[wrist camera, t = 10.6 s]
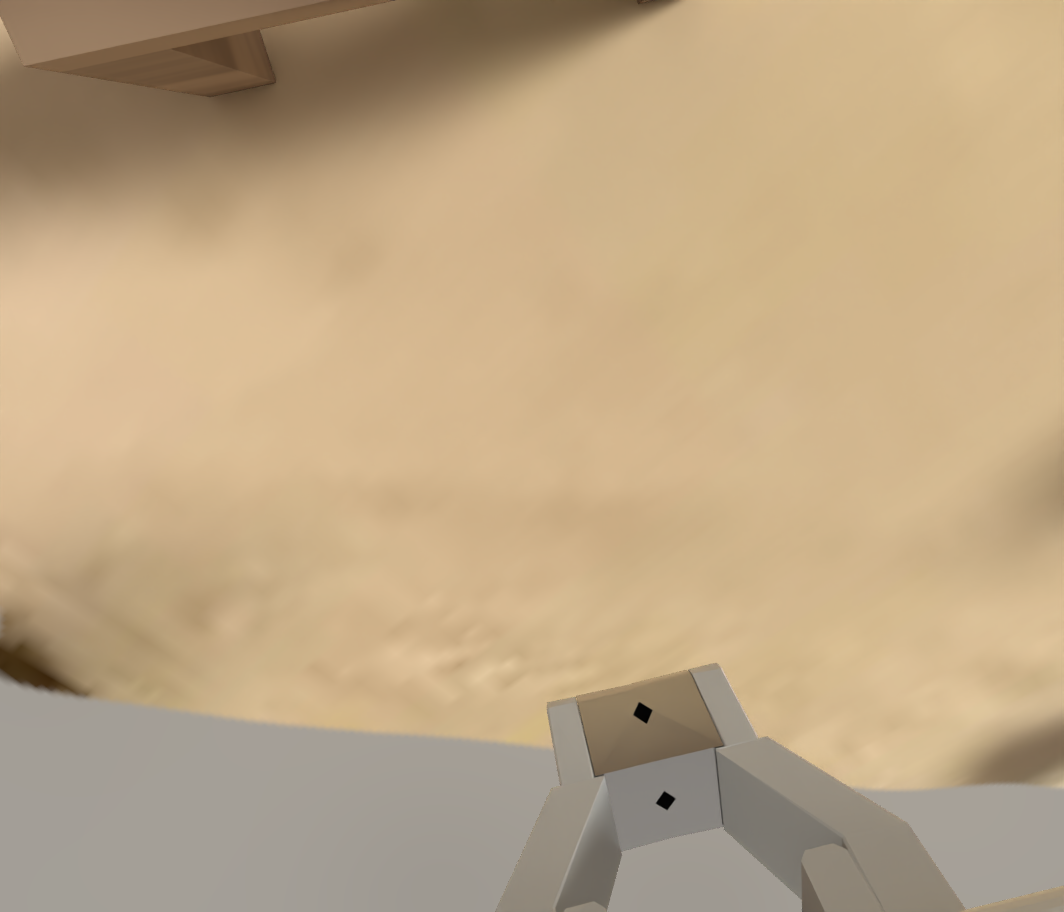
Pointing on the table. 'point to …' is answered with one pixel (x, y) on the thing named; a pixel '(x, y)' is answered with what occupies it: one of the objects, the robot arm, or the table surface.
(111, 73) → the bridge
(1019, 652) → the table surface
